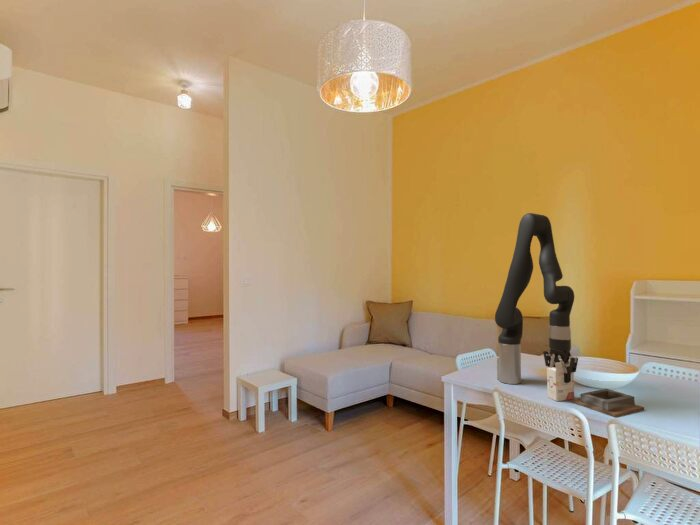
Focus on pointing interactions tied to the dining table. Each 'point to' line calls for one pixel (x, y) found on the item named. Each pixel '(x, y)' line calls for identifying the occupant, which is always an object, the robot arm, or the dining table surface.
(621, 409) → the socket plate
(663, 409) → the dining table surface
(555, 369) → the ink cartridge box
